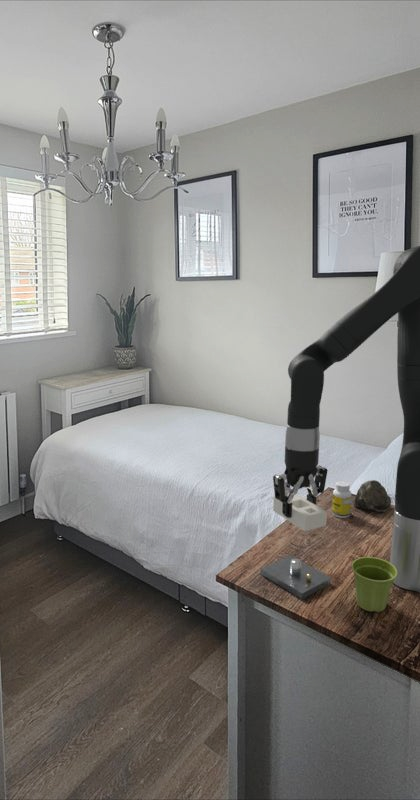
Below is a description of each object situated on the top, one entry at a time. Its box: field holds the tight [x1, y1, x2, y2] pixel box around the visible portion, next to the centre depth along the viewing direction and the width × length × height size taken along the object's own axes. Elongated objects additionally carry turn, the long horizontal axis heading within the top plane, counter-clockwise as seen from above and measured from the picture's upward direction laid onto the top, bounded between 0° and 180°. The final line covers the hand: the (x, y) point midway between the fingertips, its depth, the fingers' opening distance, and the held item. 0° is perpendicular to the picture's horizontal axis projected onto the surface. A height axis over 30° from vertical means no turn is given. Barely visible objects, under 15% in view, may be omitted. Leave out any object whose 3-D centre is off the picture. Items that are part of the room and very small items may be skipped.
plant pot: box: [351, 556, 398, 613], centre depth 112 cm, size 9×9×9 cm
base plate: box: [260, 554, 332, 600], centre depth 122 cm, size 13×10×4 cm
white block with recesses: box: [272, 493, 328, 532], centre depth 121 cm, size 12×6×4 cm, turn 28°
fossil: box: [353, 479, 392, 514], centre depth 161 cm, size 11×9×10 cm
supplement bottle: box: [331, 480, 353, 519], centre depth 155 cm, size 5×5×10 cm
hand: (298, 513), depth 121 cm, fingers closed on white block with recesses, 6 cm apart
